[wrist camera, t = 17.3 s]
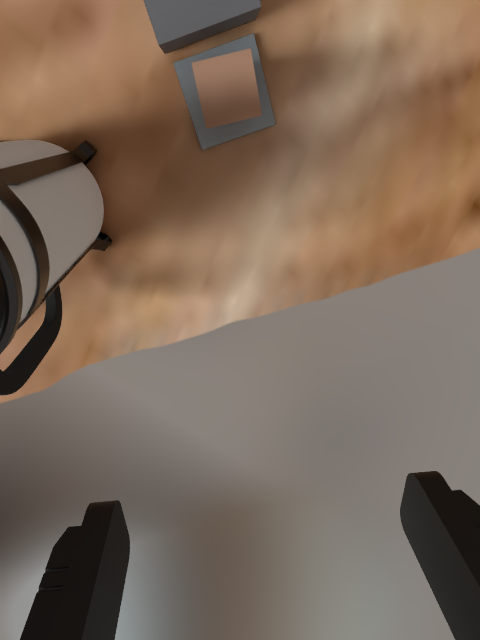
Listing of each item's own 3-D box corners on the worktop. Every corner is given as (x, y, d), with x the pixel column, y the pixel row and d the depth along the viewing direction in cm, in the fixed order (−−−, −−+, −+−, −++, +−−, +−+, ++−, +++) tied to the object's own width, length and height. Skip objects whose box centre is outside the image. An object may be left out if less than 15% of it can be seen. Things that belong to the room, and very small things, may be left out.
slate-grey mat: (173, 63, 38) (173, 63, 38) (252, 34, 38) (253, 33, 37) (202, 149, 42) (202, 150, 41) (275, 124, 41) (275, 124, 41)
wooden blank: (195, 75, 38) (191, 62, 29) (241, 64, 38) (250, 48, 29) (206, 126, 40) (206, 128, 31) (250, 116, 40) (261, 115, 31)
